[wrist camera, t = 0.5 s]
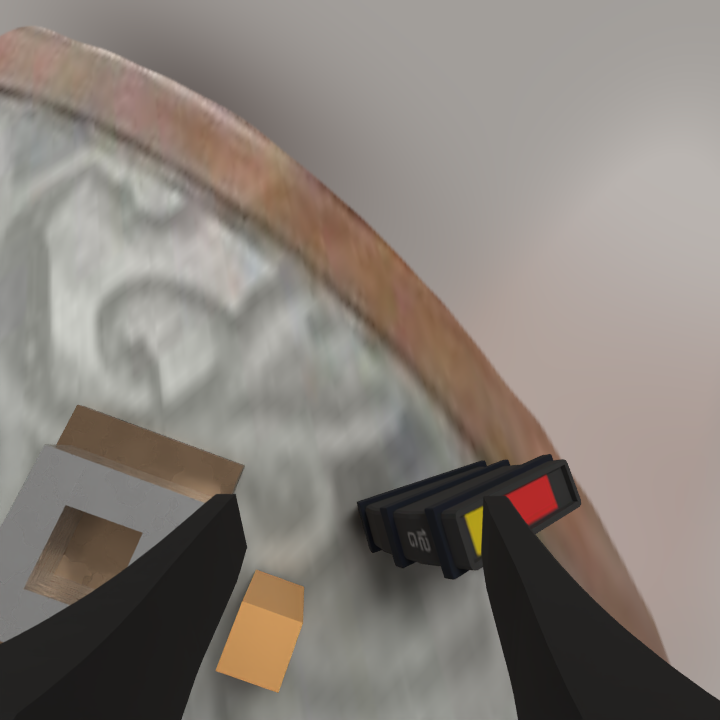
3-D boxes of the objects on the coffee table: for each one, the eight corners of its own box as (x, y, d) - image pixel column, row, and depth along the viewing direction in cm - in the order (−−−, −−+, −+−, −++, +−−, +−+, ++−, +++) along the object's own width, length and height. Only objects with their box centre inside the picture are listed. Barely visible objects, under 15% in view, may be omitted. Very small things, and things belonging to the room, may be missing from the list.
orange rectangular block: (285, 637, 34) (278, 692, 26) (236, 620, 34) (215, 670, 26) (304, 585, 35) (302, 622, 27) (256, 568, 35) (242, 601, 27)
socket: (146, 702, 32) (121, 741, 28) (-38, 638, 32) (-93, 668, 27) (244, 465, 36) (236, 467, 32) (83, 406, 36) (52, 399, 31)
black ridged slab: (319, 511, 35) (447, 507, 23) (437, 466, 42) (580, 445, 30) (331, 560, 34) (470, 582, 22) (449, 505, 42) (600, 499, 30)
